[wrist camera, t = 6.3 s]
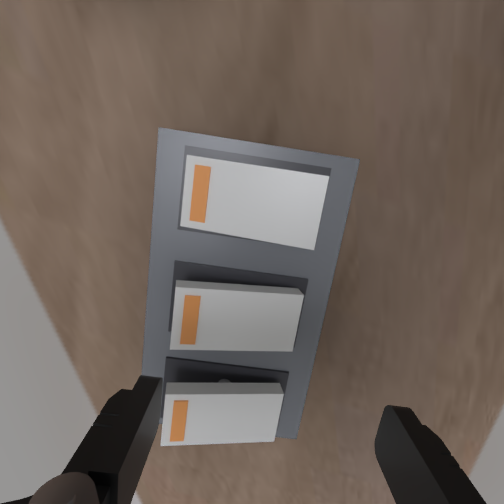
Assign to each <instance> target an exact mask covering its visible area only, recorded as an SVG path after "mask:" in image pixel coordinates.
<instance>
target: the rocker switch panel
mask: <svg viewBox="0 0 504 504" xmlns="http://www.w3.org/2000/svg"><path fill="white" fill-rule="evenodd" d="M187 155H192V156H199V157H205V158H212V159H219V160H225V161H232V162H238V163H245V164H252V165H258V166H265V167H271V168H278V169H285V170H291V171H298V172H304V173H311V174H318V175H324V176H329V181H328V186H327V190H326V195H325V200H324V205H323V210H322V215H321V219H320V224H319V229H318V234H317V239H316V244H315V248H314V250H310V249H304V248H299V247H293V246H288V245H282V244H277V243H271V242H266V241H260V240H255V239H249V238H244V237H238V236H233V235H227V234H222V233H216V232H210V231H205V230H199V229H194V228H188V227H183V226H180V223H181V212H182V201H183V190H184V180H185V169H186V158H187ZM359 162H360V159H354V158H348V157H342V156H336V155H329V154H323V153H317V152H311V151H304V150H298V149H292V148H285V147H279V146H273V145H267V144H260V143H254V142H248V141H242V140H235V139H229V138H223V137H216V136H210V135H204V134H198V133H191V132H185V131H179V130H173V129H166V128H160V127H159V130H158V145H157V159H156V174H155V188H154V203H153V217H152V231H151V246H150V260H149V275H148V289H147V304H146V318H145V333H144V347H143V361H142V375H145V376H153V377H162V378H163V387H162V400H161V413H160V420H159V424H163V414H164V404H165V393H166V385H167V383H218V382H219V380H221V379H227V380H229V381H230V382H231V383H280V385H281V388H282V390H283V393H284V396H283V401H282V406H281V411H280V415H279V420H278V425H277V430H276V435H275V437H281V438H290V439H297V434H298V430H299V426H300V421H301V417H302V412H303V408H304V404H305V399H306V395H307V390H308V386H309V382H310V377H311V373H312V368H313V364H314V360H315V355H316V351H317V347H318V342H319V338H320V333H321V329H322V325H323V320H324V316H325V311H326V307H327V303H328V298H329V294H330V289H331V285H332V281H333V276H334V272H335V267H336V263H337V259H338V254H339V250H340V245H341V241H342V237H343V232H344V228H345V224H346V219H347V215H348V210H349V206H350V202H351V197H352V193H353V188H354V184H355V180H356V175H357V171H358V166H359ZM176 280H183V281H198V282H213V283H228V284H242V285H257V286H272V287H287V288H298V289H299V290H300V291H301V292H302V293H303V294H304V298H303V303H302V308H301V312H300V317H299V322H298V327H297V332H296V337H295V342H294V346H293V351H292V352H285V351H224V350H170V342H171V331H172V320H173V309H174V299H175V288H176Z"/></svg>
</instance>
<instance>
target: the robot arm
mask: <svg viewBox="0 0 504 504" xmlns="http://www.w3.org/2000/svg"><path fill="white" fill-rule="evenodd" d="M162 387H163V378H162V377H153V376H145V375H141V376H140V377H139V379H138V380H137V382H136V384H135V386H134V388H133V390H126V389H121V390H120V391H118V392H117V393H116V394H115V395H113V396H112V397H111V398H110V399H108V401H107V402H106V404H105V406H104V407H103V409H102V410H101V412H100V415H98V417H97V418H96V420H95V422H94V423H93V426H91V428H90V430H89V431H88V433H87V434H86V436H85V438H84V439H83V441H82V442H81V444H80V446H79V447H78V449H77V450H76V452H75V453H74V455H73V457H72V458H71V460H70V462H69V463H68V465H67V466H66V468H65V469H64V471H63V472H62V474H61V475H59V476H57V477H55V478H53V479H51V480H49V481H48V482H46V483H45V484H44V485H42V486H41V487H40V488H39V489H38V490H37V492H36V493H35V494H34V495H32V496H30V497H27V498H23V499H20V500H15V501H11V502H6V503H1V504H131V501H132V498H133V495H134V493H135V490H136V487H137V484H138V482H139V479H140V476H141V473H142V471H143V468H144V465H145V462H146V460H147V457H148V454H149V452H150V449H151V446H152V443H153V441H154V438H155V435H156V432H157V429H158V425H159V420H160V413H161V400H162ZM375 454H376V458H377V460H378V463H379V465H380V467H381V470H382V472H383V474H384V477H385V479H386V481H387V484H388V486H389V488H390V490H391V493H392V495H393V497H394V500H395V502H396V504H486V502H485V501H484V500H483V498H482V497H481V495H480V494H479V493H478V491H477V490H476V488H475V487H474V485H473V484H472V483H471V481H470V480H469V478H468V477H467V475H466V474H465V473H464V471H463V470H462V469H460V467H459V464H458V463H457V461H456V460H455V458H454V457H453V456H451V453H450V451H449V450H448V448H447V447H446V446H445V444H444V443H443V441H442V440H441V439H440V438H439V437H438V436H437V435H436V434H435V433H434V432H433V431H432V430H430V429H429V428H428V427H427V426H426V425H422V424H421V422H420V421H419V420H418V418H417V417H416V415H415V414H414V412H413V411H412V410H411V409H410V408H408V407H400V406H391V405H387V406H386V407H385V408H384V411H383V414H382V418H381V421H380V424H379V428H378V431H377V435H376V438H375Z"/></svg>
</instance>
